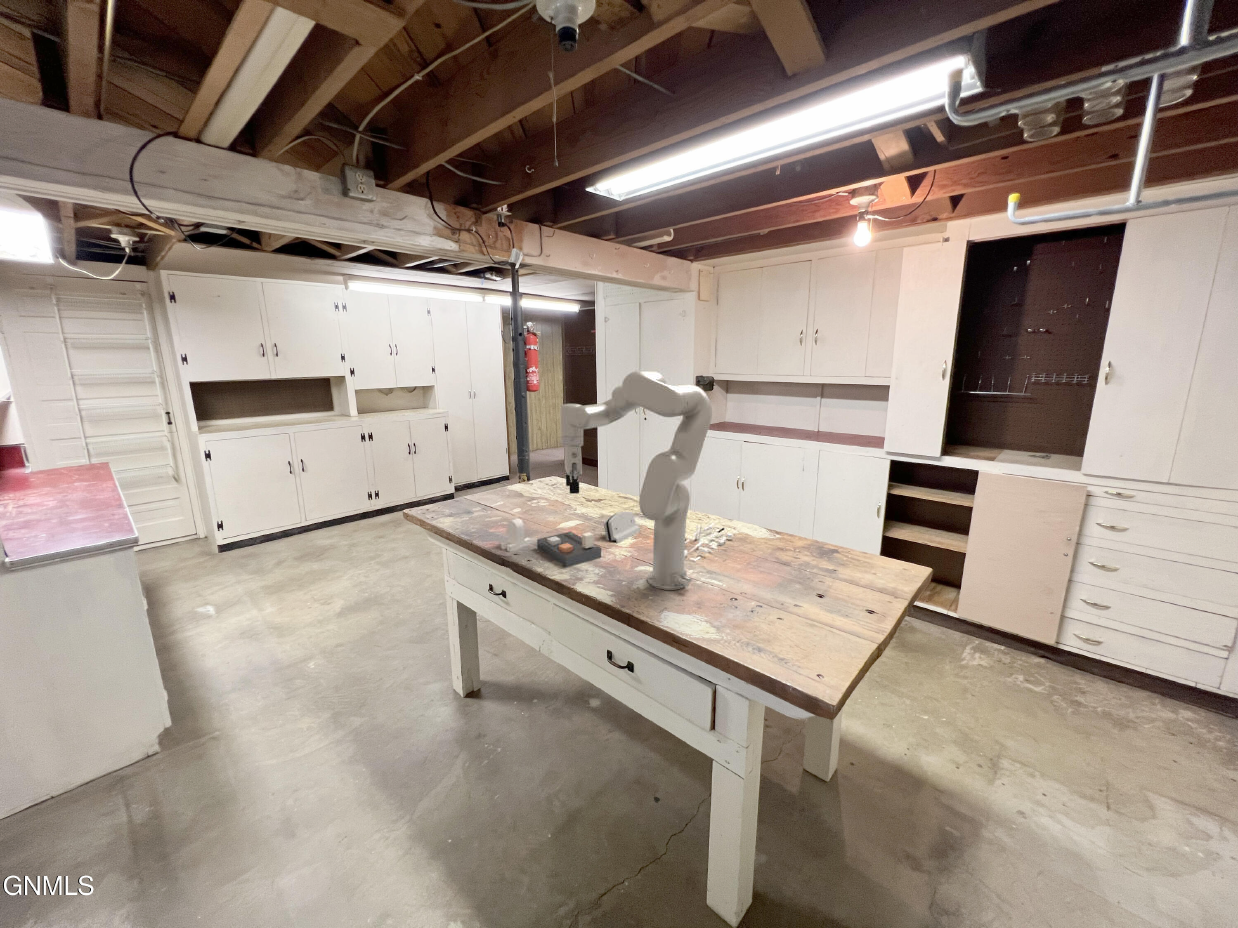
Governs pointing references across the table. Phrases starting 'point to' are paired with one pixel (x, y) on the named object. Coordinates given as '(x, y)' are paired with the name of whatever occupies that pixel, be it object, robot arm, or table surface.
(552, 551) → the control panel
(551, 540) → the grey key
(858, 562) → the table surface
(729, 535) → the miniature set
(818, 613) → the table surface
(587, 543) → the cream tall block
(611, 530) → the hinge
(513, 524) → the cable organizer
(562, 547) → the terracotta key
